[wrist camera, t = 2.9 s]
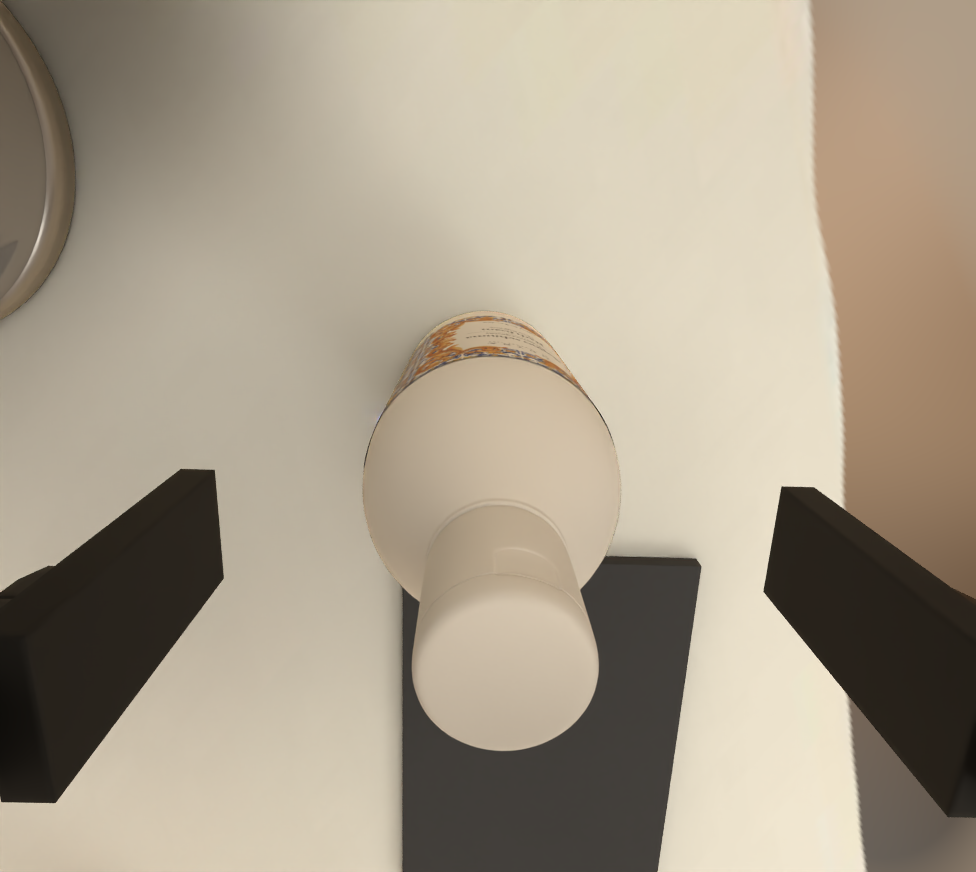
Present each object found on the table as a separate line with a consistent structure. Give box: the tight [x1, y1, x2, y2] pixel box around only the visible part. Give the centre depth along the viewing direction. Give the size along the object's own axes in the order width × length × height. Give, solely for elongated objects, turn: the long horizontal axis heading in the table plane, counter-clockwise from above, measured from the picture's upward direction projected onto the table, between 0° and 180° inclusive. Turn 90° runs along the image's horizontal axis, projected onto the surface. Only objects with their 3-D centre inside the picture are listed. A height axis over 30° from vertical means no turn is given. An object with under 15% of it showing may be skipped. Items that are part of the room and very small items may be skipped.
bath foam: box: [363, 311, 621, 751], centre depth 20 cm, size 7×7×20 cm
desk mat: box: [403, 557, 701, 872], centre depth 34 cm, size 20×14×1 cm
